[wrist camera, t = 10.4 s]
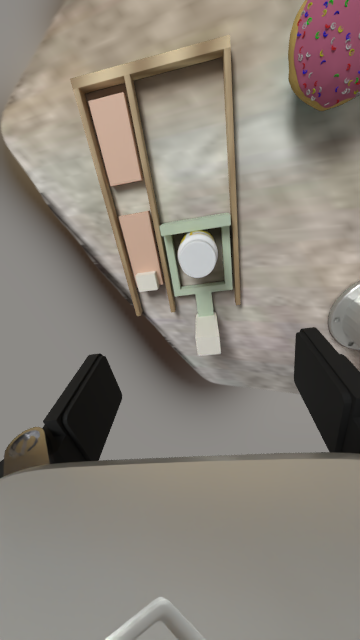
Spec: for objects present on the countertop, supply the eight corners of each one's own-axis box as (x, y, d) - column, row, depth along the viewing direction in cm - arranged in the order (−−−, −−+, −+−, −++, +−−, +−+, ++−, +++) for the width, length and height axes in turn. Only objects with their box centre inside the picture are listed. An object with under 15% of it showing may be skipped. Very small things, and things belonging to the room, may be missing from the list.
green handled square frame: (227, 212, 29) (235, 217, 23) (233, 326, 37) (240, 352, 31) (162, 223, 31) (153, 230, 25) (182, 331, 39) (179, 357, 33)
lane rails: (228, 43, 22) (229, 34, 21) (239, 300, 35) (240, 304, 34) (76, 85, 25) (70, 79, 23) (139, 311, 38) (136, 316, 36)
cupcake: (383, 4, 21) (575, -193, 10) (343, 125, 25) (449, 74, 14) (288, -2, 21) (378, -201, 10) (264, 119, 25) (311, 64, 14)
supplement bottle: (191, 268, 34) (188, 288, 26) (174, 239, 32) (166, 252, 24) (220, 251, 32) (227, 268, 25) (205, 220, 30) (206, 228, 23)
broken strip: (126, 95, 25) (119, 86, 23) (164, 283, 35) (161, 289, 33) (91, 104, 25) (82, 96, 23) (139, 286, 36) (135, 292, 33)
